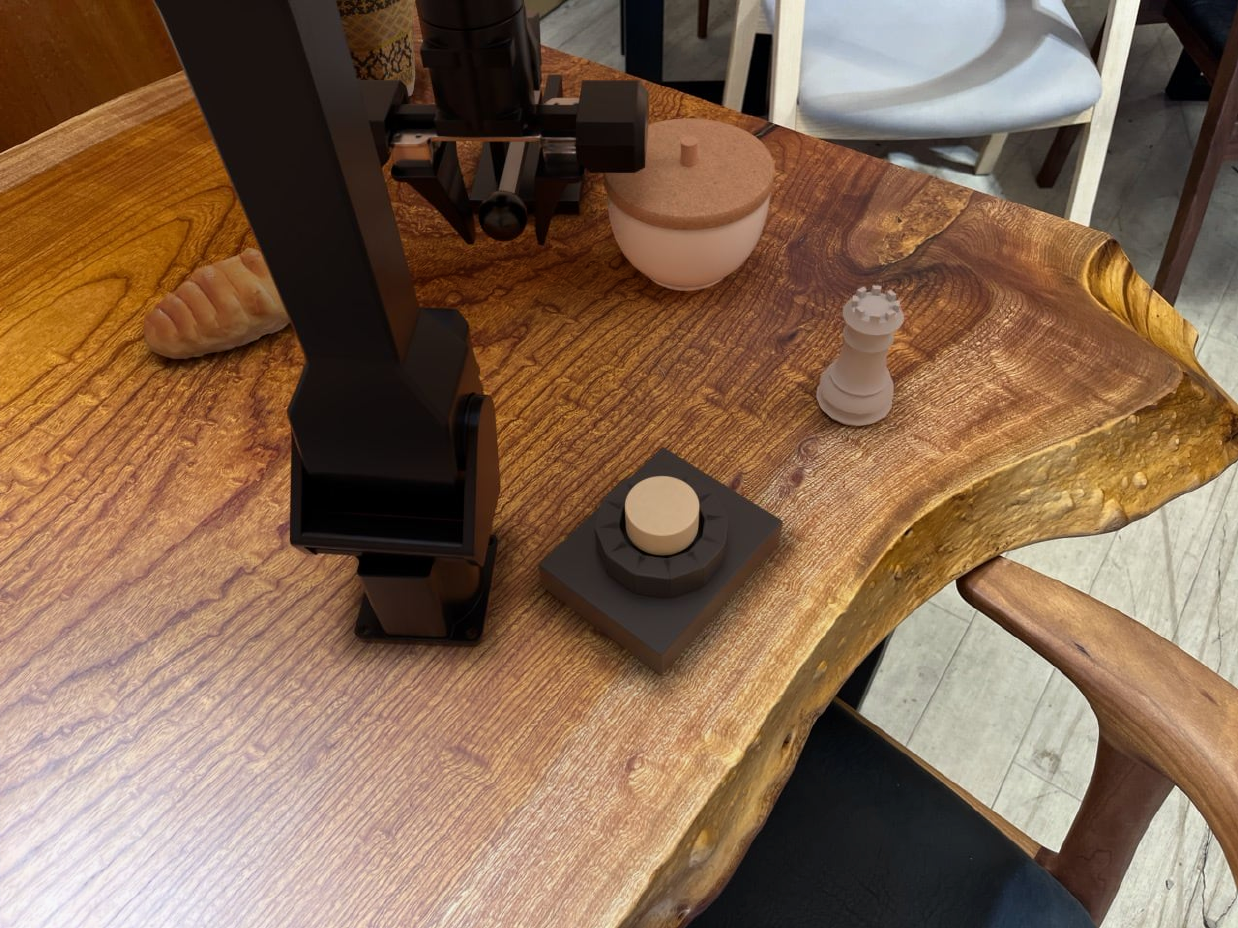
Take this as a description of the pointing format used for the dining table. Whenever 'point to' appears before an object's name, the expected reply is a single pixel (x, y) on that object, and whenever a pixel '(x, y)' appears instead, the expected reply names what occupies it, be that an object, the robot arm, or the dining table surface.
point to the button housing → (660, 566)
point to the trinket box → (692, 202)
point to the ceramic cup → (380, 39)
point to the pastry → (217, 309)
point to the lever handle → (507, 196)
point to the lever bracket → (494, 164)
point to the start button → (662, 515)
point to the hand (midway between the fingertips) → (507, 241)
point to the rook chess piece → (862, 360)
